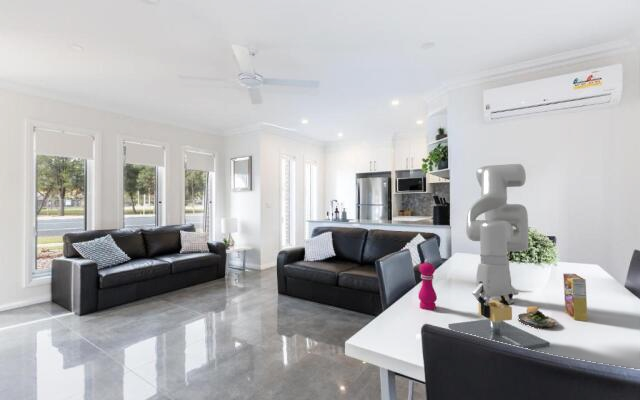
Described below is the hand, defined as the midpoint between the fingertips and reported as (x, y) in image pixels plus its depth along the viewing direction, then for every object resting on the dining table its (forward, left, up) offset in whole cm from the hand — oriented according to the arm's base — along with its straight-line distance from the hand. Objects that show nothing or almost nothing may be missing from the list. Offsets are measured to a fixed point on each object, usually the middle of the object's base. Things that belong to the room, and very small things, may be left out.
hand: (494, 315), depth 98 cm
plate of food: (-23, -5, -7) cm, 25 cm away
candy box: (-42, -6, -7) cm, 43 cm away
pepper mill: (+5, -30, -7) cm, 31 cm away
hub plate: (0, 0, -7) cm, 7 cm away
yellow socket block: (0, 0, -1) cm, 1 cm away
